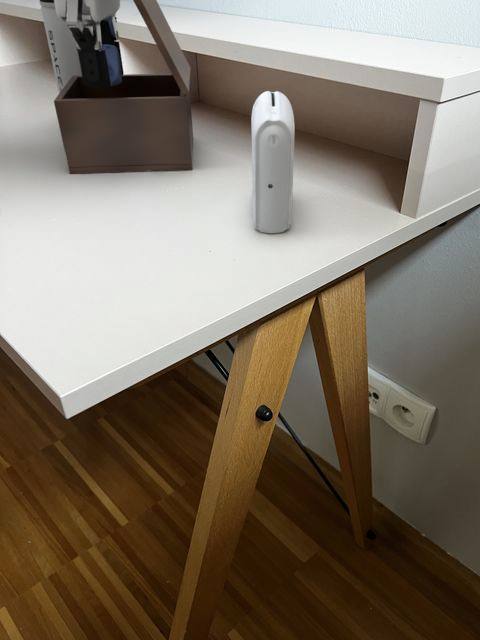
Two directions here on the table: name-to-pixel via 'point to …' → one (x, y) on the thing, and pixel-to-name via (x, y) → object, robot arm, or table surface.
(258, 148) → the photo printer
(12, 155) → the table surface
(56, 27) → the travel mug
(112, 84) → the decorative dice
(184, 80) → the lid
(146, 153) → the storage box
